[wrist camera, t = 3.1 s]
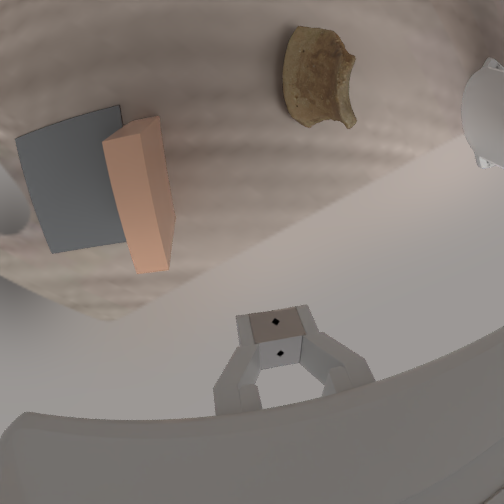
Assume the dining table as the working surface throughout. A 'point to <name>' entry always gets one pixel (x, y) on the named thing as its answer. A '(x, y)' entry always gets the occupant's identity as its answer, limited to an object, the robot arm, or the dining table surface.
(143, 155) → the tile
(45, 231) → the mat
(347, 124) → the pottery shard
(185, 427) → the robot arm
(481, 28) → the dining table surface
